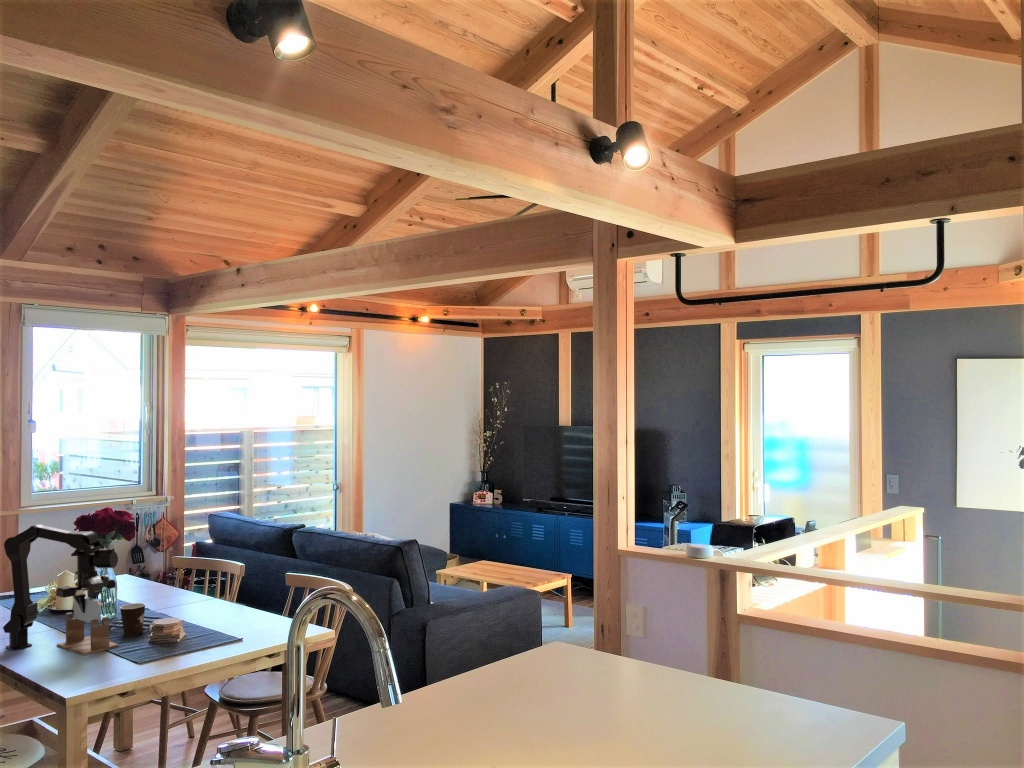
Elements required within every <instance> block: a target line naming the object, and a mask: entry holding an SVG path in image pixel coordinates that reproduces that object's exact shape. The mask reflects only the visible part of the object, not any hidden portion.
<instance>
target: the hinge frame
mask: <svg viewBox="0 0 1024 768" xmlns="http://www.w3.org/2000/svg"><path fill="white" fill-rule="evenodd" d="M89 625H90V626H89V627H90V635H89V636H85V621H82V620H79V619H75V618H74V612H72V611H71V612H66V613H65V641H63V642H60V643H56V647H58V648H60V649H63V650H67V651H70V652H72V653H75V654H76V653H77V654H79V655H82V656H88V655H92V654H96V653H99V652H102V651H103V652H104V651H107V650H111V649H115V648H118V647H119V645H120V644H119V643H115V642H112V641H110V617H109V616H104V617H101V624H99V623H98V620H96V619H95V620H90V623H89Z"/></svg>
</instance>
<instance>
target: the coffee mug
mask: <svg viewBox="0 0 1024 768" xmlns="http://www.w3.org/2000/svg"><path fill="white" fill-rule="evenodd" d="M119 610H120V616H121V623H122V630H123V631H122V632H123V635H124V636H134V635H139V634H142V633H143V631H144V630H143V629H144V619H145V611H146V604H145V603H141V602H138V603H137V602H136V603H134V602H133V603H127V604H123V605H121V606H120V607H119Z"/></svg>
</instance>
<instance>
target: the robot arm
mask: <svg viewBox="0 0 1024 768" xmlns="http://www.w3.org/2000/svg"><path fill="white" fill-rule="evenodd" d="M39 538H40V539H44V540H45V539H46V540H49V541H55V542H59V543H64V544H66V545H68V546H69V547H71V548H73V549H75V550H74V551H73V552H72V553H71V554H70V556H71V557H76V566H77V567H76V568H77V569H76V570H75V575H77V576H76V577H77V580H76V581H77V582H75V586H69V585H65V586H59V587H57V588H56V590H55V591H56V592H55V596H56V597H59V598H63V599H64V598H69V597H74V598H75V600H76V601H77V603H78V605H79V607H80V609H81V611H82V613H85V599H84V598H85V596H86V595H87V596H86V597H90V598H94V599H97V597H98V596H99V595H100V594H102V593H103V591H104V588H106V589H108V590H110V589H114V588H116V587H117V584H116V583H117V581H115V579H113V578H109V577H110V576H109V575H107V574H104V575H100V576H99V574H98V570H96V568H97V569H114V568H115V567H117V565H118V563H119V556H118V553H117V552H116V551H115V548H113V547H111V548H105V547H104V546H103V544H102V543H101V541H100V540H99V539H98V536H97V534H96V532H93V531H83V530H82V531H81V530H80V531H71V530H66V529H61V528H58V527H52V526H47V525H43V524H41V523H40V524H38V523H37V524H34V525H30V527H28V528H27V529H25V530H24V531H22V532H20V533H18V534H16V535H15V536H14V535H13V536H10V537H8V538H6V540H5V541H4V543H3V549H4V552H5V555H6V557H7V558H8V560H9V561H10V564H11V574H12V575H11V576H12V577H11V578H12V588H13V598H14V602H13V604H12V607H11V610H10V617H9V620H8V622H6V623H5V625H4V626H3V627H2V629H3V631H4V633H6V634H7V633H8V638H9V639H8V641H9V644H8V645H5V647H6V649H9V650H11V651H16V650H20V649H25V648H27V647H33V644H32V643H29V634H28V633H29V631H28V630H29V628H30V627H32V626H33V625H34V622H35V621H36V619H37V618H38V614H39V613H40V612H39V611H38V606H39V605H38V602H33V601H32V600H31V592H30V583H29V580H30V579H29V569H28V557H29V554H30V553H31V548H32V547H31V546H32V544H33V542H35V541H36V540H38V539H39ZM84 591H85V592H87V594H85V593H84Z"/></svg>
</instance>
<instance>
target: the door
mask: <svg viewBox="0 0 1024 768" xmlns="http://www.w3.org/2000/svg"><path fill="white" fill-rule="evenodd" d="M71 598H72V599H71V600H73V618H75V619H79V620H82V621H84V622H86V623H89V624H90V620H95V619H96V620H98V624H102V617H101V614H102V613H101V612H102V611H101V606H103V602H101V599H97V598H96V599H94V598H90V597H88V596H85V598H84V599H85V613H82V611H81V609H80V607H79V605H78V603H77V601H76V600H75V598H74V597H73V596H71Z"/></svg>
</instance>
